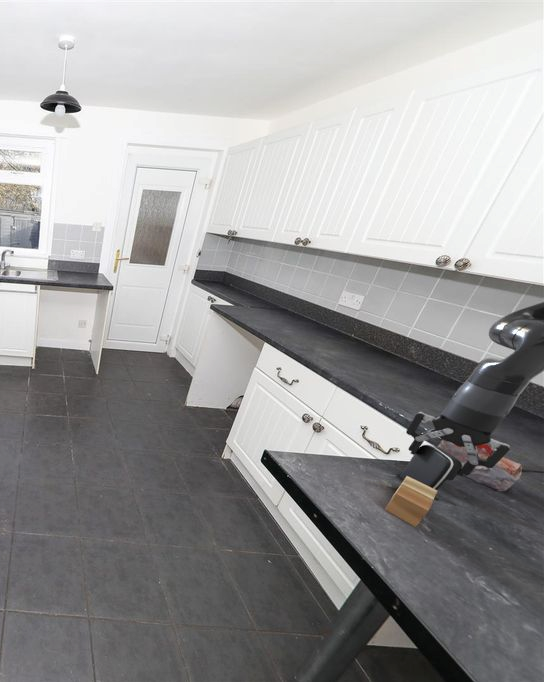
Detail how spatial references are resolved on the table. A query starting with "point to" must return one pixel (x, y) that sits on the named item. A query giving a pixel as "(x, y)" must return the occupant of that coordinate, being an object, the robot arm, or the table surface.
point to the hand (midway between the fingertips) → (435, 463)
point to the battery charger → (432, 466)
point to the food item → (492, 477)
